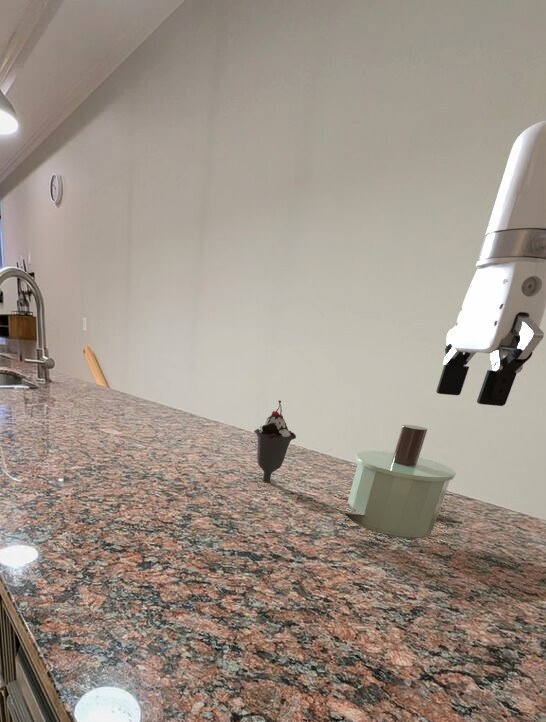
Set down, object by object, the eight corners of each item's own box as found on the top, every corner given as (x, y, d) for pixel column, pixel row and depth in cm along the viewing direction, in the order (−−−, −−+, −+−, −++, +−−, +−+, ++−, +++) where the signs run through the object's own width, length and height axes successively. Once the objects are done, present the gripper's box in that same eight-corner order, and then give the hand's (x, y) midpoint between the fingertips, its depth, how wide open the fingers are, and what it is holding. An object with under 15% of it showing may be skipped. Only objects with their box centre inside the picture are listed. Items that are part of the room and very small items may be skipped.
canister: (386, 503, 75) (401, 455, 72) (450, 534, 65) (470, 479, 61) (328, 507, 71) (341, 455, 68) (386, 540, 61) (404, 481, 57)
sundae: (269, 483, 80) (285, 398, 74) (292, 497, 74) (311, 406, 68) (237, 485, 78) (251, 397, 72) (258, 499, 72) (275, 405, 66)
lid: (400, 457, 73) (411, 418, 70) (474, 484, 61) (491, 438, 59) (335, 458, 68) (345, 417, 66) (403, 487, 57) (418, 438, 55)
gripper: (611, 243, 45) (543, 412, 52) (500, 266, 61) (459, 393, 68) (536, 237, 46) (477, 407, 52) (445, 261, 61) (409, 389, 68)
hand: (467, 399), depth 60 cm, fingers open, 9 cm apart
